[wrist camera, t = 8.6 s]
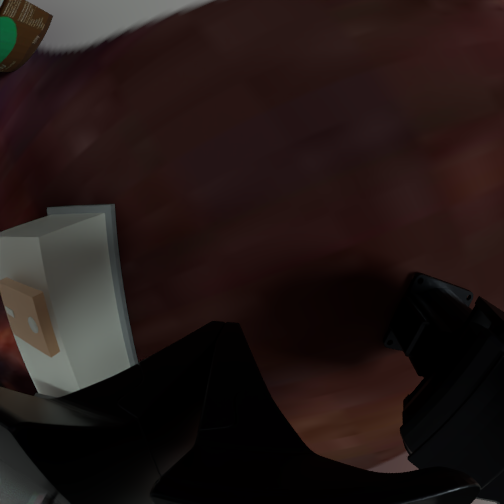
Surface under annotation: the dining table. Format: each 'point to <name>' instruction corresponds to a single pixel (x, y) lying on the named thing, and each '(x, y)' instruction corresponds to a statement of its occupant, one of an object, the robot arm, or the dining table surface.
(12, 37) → the food container
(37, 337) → the terracotta rocker
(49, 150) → the dining table surface
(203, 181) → the dining table surface
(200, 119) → the dining table surface
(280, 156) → the dining table surface
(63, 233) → the switch box
